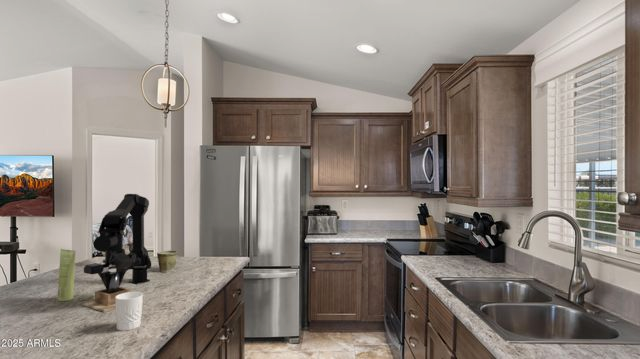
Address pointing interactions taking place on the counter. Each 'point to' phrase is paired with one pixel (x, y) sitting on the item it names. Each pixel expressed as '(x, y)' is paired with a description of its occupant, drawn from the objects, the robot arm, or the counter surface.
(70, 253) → the tube
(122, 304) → the white cup
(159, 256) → the ceramic cup
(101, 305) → the well
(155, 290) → the counter surface
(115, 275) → the peg
